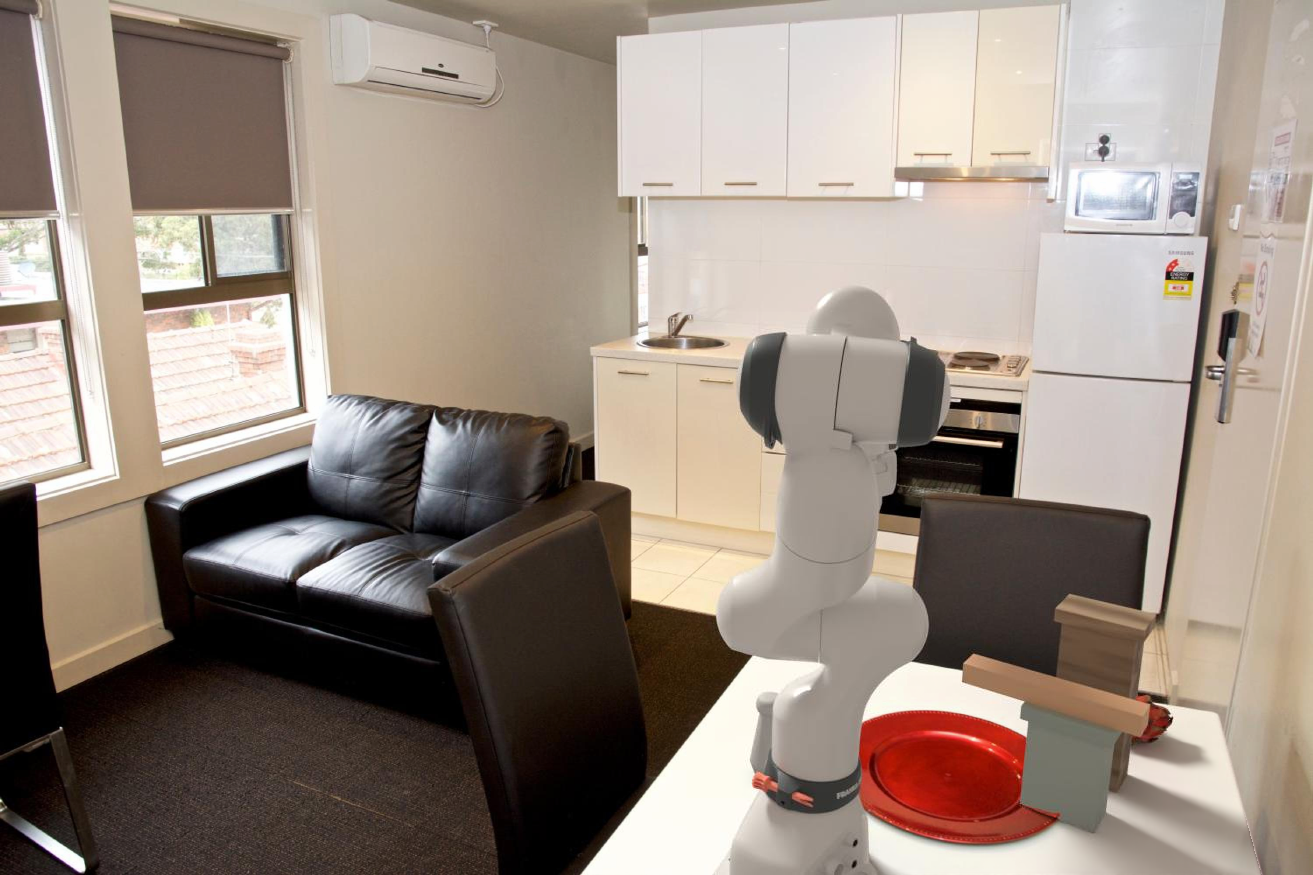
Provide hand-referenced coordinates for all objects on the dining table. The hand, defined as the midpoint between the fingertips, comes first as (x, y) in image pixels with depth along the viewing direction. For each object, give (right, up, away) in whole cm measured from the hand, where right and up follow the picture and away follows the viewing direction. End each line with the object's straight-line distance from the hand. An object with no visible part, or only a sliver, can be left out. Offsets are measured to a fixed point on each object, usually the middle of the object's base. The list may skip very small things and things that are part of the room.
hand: (856, 530), depth 149 cm
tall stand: (+34, -36, -5) cm, 50 cm away
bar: (+24, -23, -15) cm, 36 cm away
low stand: (+26, -38, -14) cm, 48 cm away
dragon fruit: (+46, -34, +5) cm, 57 cm away
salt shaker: (-14, -37, -5) cm, 40 cm away
